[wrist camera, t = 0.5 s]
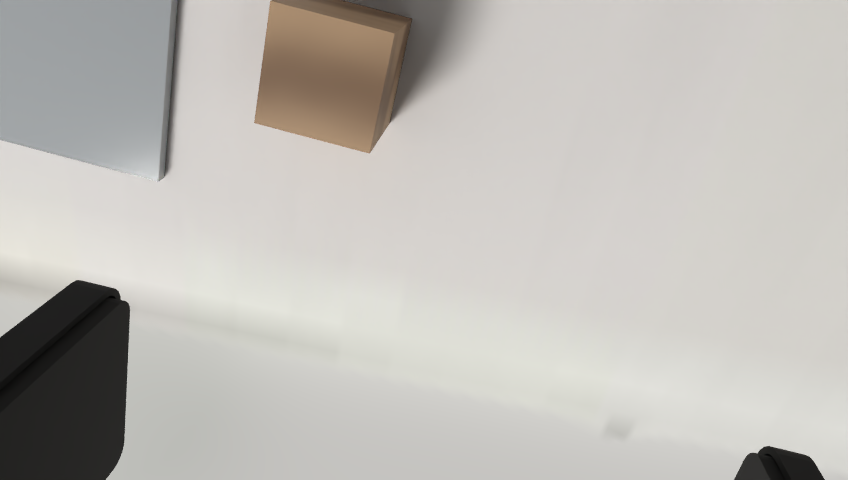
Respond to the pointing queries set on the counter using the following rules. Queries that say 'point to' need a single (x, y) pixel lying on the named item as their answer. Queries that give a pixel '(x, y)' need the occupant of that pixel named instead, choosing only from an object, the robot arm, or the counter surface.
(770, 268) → the counter surface
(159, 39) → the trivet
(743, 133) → the counter surface
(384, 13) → the walnut cube
